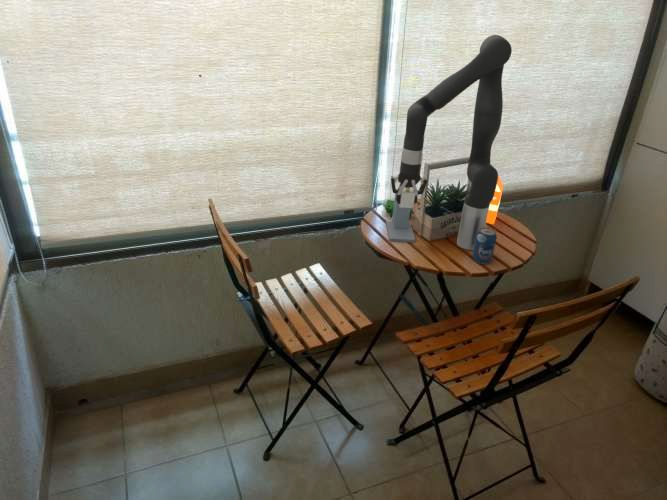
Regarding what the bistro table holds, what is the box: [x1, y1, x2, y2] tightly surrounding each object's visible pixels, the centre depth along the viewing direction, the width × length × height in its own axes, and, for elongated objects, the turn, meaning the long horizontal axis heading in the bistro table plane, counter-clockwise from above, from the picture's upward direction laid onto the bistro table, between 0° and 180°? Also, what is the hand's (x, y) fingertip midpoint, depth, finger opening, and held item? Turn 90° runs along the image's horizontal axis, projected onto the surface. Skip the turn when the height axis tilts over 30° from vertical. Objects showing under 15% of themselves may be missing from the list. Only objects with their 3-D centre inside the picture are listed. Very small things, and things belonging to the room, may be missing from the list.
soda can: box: [472, 227, 498, 265], centre depth 184 cm, size 7×7×12 cm
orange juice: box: [486, 174, 504, 225], centre depth 216 cm, size 8×9×20 cm
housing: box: [399, 187, 415, 209], centre depth 191 cm, size 5×5×7 cm
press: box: [385, 193, 416, 243], centre depth 200 cm, size 10×16×14 cm, turn 0°
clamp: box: [384, 199, 414, 218], centre depth 217 cm, size 12×6×9 cm, turn 67°
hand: (405, 203), depth 192 cm, fingers closed on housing, 5 cm apart
